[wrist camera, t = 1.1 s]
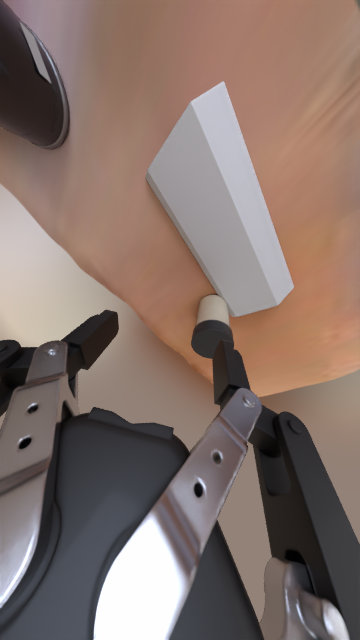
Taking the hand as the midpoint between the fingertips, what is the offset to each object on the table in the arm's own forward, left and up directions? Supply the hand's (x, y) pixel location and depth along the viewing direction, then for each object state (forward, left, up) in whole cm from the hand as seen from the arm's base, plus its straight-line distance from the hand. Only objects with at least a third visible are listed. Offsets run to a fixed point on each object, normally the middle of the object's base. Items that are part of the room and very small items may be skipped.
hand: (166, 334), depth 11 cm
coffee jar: (+9, -5, -21) cm, 23 cm away
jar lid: (+9, -5, -9) cm, 14 cm away
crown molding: (+3, +8, -21) cm, 23 cm away
